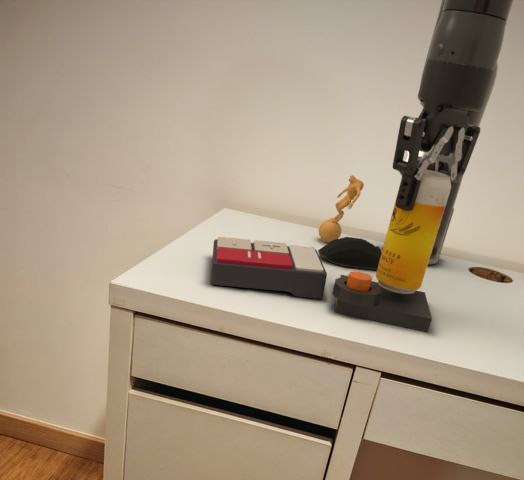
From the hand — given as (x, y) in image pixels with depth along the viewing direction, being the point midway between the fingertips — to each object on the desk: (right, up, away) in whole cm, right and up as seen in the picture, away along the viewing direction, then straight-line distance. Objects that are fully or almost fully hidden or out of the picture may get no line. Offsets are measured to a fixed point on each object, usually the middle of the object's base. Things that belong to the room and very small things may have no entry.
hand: (419, 207), depth 74 cm
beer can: (-2, -10, +5) cm, 11 cm away
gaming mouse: (-4, -4, +22) cm, 23 cm away
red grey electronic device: (-20, -8, +8) cm, 23 cm away
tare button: (-8, -10, +1) cm, 13 cm away
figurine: (-7, +1, +31) cm, 32 cm away
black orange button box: (-4, -12, +5) cm, 14 cm away
